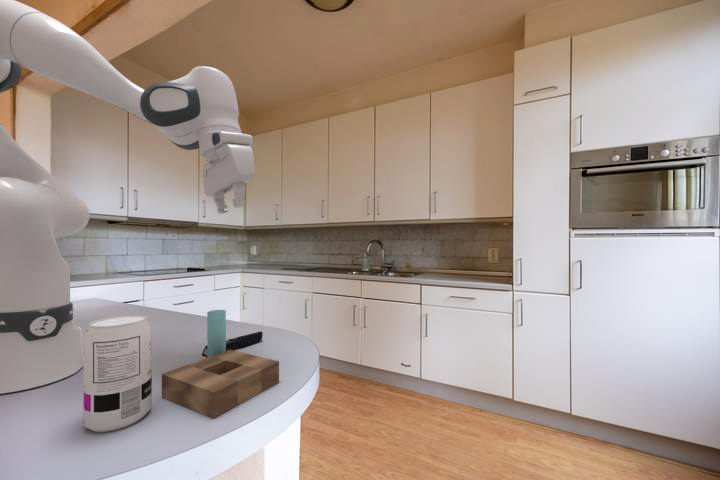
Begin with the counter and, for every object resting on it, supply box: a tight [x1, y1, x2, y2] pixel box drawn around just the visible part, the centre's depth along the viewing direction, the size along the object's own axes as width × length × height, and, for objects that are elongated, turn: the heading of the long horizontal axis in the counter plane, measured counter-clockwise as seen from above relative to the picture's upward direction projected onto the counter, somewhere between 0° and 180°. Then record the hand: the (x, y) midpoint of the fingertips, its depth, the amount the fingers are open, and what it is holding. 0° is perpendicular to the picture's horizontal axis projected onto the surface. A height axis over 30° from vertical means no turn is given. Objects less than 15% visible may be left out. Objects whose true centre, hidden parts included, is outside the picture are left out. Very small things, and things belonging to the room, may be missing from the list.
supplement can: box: [83, 314, 153, 433], centre depth 48 cm, size 8×8×15 cm
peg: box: [206, 309, 227, 358], centre depth 67 cm, size 4×4×12 cm
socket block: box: [161, 349, 280, 419], centre depth 57 cm, size 14×14×4 cm
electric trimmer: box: [201, 331, 264, 358], centre depth 79 cm, size 4×16×3 cm, turn 141°
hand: (230, 210), depth 68 cm, fingers open, 8 cm apart
